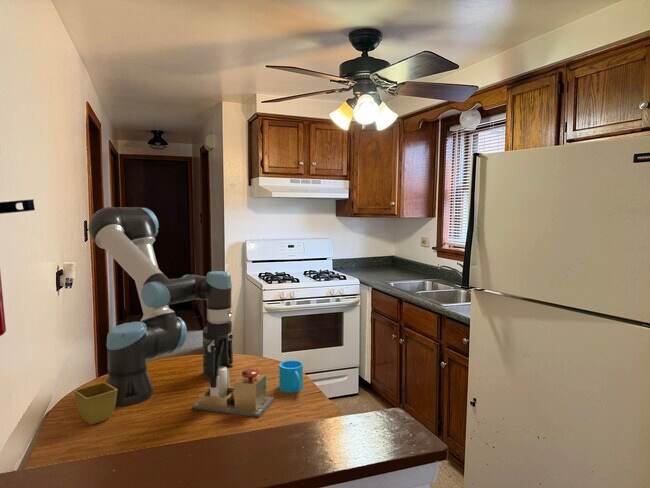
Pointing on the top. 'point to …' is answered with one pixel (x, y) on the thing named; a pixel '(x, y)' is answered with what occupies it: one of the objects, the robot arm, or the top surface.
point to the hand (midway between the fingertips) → (220, 392)
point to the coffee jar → (205, 342)
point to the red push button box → (240, 396)
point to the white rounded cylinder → (222, 381)
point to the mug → (290, 376)
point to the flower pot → (96, 402)
